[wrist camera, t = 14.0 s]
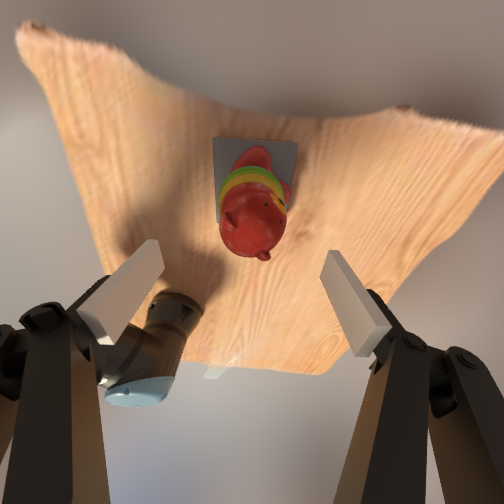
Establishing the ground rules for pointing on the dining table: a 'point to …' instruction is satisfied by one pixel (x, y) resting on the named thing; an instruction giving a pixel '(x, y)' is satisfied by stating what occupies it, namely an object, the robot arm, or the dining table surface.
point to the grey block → (233, 148)
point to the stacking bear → (252, 206)
